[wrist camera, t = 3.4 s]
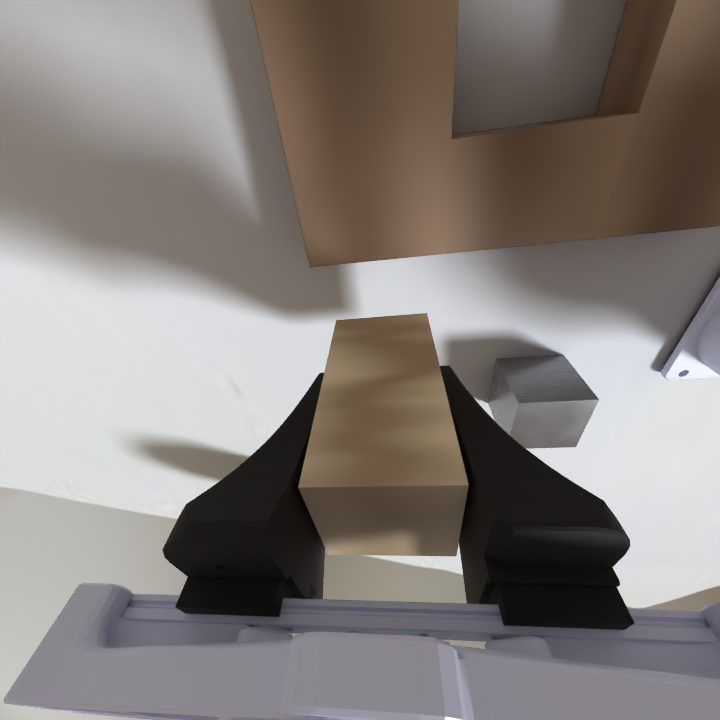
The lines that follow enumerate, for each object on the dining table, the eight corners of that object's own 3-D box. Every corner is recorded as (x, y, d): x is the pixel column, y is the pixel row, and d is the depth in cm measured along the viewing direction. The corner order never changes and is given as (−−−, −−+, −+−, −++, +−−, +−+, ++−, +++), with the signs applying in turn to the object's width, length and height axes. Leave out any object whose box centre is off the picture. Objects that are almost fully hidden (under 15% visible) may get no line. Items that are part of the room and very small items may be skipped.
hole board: (1166, -669, 5) (1635, -1144, 3) (708, 207, 14) (764, 221, 12) (202, -337, 7) (136, -507, 5) (318, 249, 16) (309, 267, 14)
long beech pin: (426, 313, 13) (468, 485, 7) (425, 381, 16) (456, 556, 9) (336, 320, 14) (298, 487, 7) (348, 386, 16) (328, 554, 10)
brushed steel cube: (562, 354, 19) (599, 399, 16) (546, 399, 21) (575, 446, 18) (496, 358, 20) (518, 403, 16) (487, 402, 22) (506, 448, 19)
